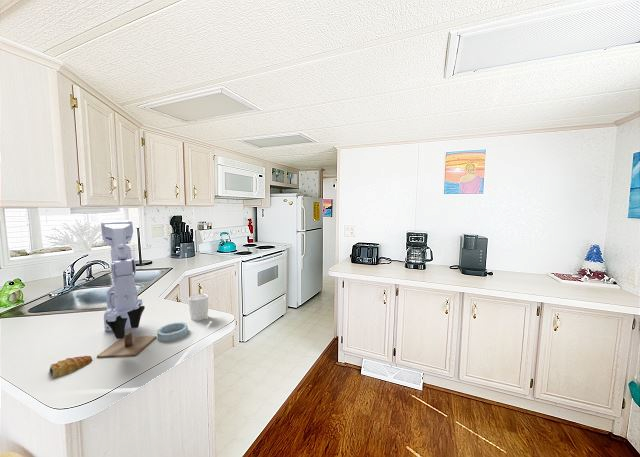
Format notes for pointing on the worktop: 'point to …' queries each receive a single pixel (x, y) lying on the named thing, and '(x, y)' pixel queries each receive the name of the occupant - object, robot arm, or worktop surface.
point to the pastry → (69, 365)
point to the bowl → (174, 335)
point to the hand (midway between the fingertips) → (127, 332)
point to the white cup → (198, 307)
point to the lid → (127, 346)
